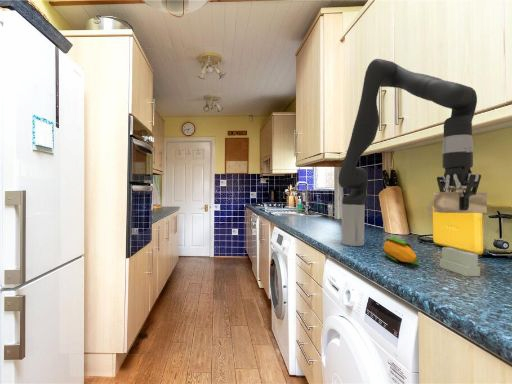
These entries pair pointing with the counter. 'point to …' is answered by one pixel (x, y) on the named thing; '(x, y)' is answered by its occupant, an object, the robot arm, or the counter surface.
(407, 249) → the corn
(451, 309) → the counter surface
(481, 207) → the oak bar
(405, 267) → the counter surface
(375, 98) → the robot arm
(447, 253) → the grey rectangular block
